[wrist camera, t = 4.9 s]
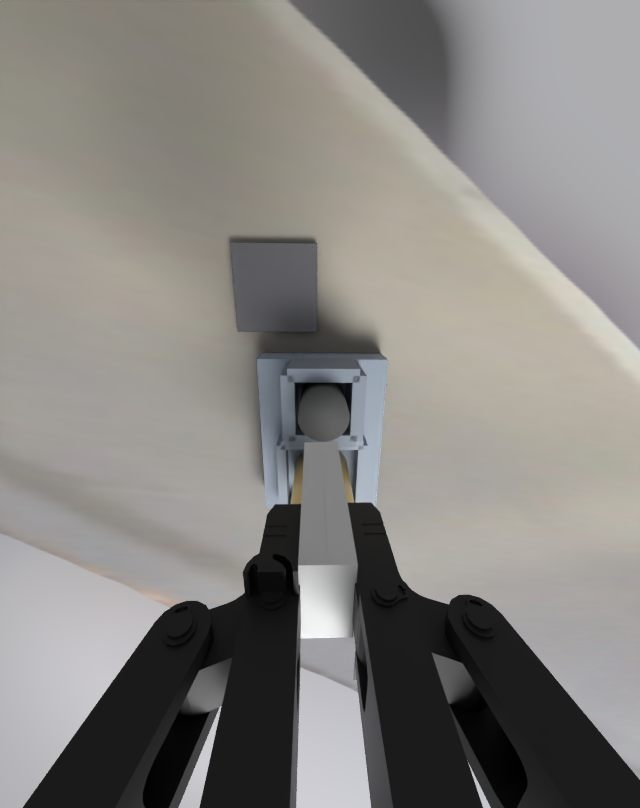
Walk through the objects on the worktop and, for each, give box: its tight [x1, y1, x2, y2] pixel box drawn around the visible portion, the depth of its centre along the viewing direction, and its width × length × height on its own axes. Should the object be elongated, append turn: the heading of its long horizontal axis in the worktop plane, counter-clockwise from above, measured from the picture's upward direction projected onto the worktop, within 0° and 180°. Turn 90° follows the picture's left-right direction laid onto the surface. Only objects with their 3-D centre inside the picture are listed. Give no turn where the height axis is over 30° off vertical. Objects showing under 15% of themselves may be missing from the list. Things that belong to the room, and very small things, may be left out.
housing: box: [257, 353, 388, 508], centre depth 27 cm, size 15×11×7 cm
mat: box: [230, 243, 317, 332], centre depth 25 cm, size 7×7×1 cm
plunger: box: [298, 382, 350, 442], centre depth 23 cm, size 4×4×5 cm
